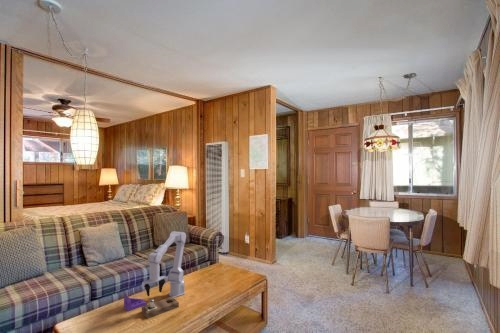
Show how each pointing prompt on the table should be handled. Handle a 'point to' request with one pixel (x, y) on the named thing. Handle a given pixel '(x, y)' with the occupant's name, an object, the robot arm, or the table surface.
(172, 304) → the board
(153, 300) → the pin
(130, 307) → the bracket
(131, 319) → the table surface
